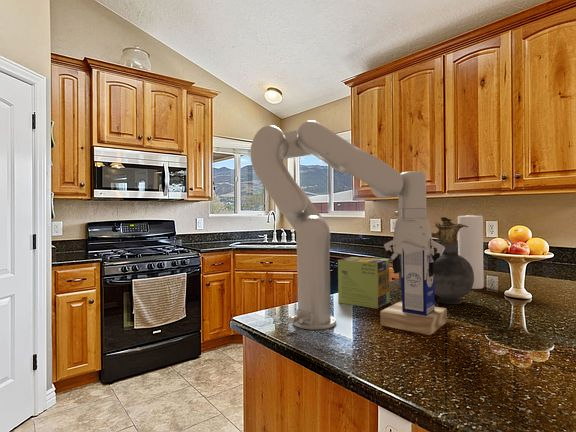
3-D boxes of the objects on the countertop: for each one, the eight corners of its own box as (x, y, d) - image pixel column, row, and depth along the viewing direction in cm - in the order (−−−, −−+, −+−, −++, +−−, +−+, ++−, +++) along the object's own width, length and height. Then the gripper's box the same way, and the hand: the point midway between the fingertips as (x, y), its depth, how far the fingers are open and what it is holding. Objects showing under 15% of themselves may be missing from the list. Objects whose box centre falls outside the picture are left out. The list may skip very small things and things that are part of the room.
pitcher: (473, 308, 120) (472, 217, 119) (413, 302, 129) (412, 217, 129) (475, 300, 129) (474, 216, 129) (419, 295, 139) (417, 216, 138)
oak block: (430, 335, 95) (430, 319, 95) (380, 325, 104) (380, 311, 104) (446, 322, 106) (446, 308, 106) (400, 313, 115) (400, 301, 115)
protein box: (378, 309, 121) (377, 262, 121) (337, 302, 130) (337, 259, 130) (390, 302, 129) (389, 259, 129) (351, 297, 139) (350, 256, 138)
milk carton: (411, 306, 108) (410, 239, 108) (434, 310, 104) (433, 240, 104) (401, 311, 103) (400, 241, 103) (426, 316, 98) (425, 242, 98)
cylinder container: (453, 285, 156) (452, 215, 156) (471, 283, 159) (470, 214, 159) (470, 289, 147) (469, 215, 147) (488, 287, 150) (488, 214, 150)
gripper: (378, 215, 107) (379, 273, 107) (439, 215, 96) (440, 279, 96) (389, 214, 113) (390, 270, 113) (448, 214, 102) (448, 275, 102)
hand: (413, 274), depth 105 cm, fingers open, 9 cm apart
